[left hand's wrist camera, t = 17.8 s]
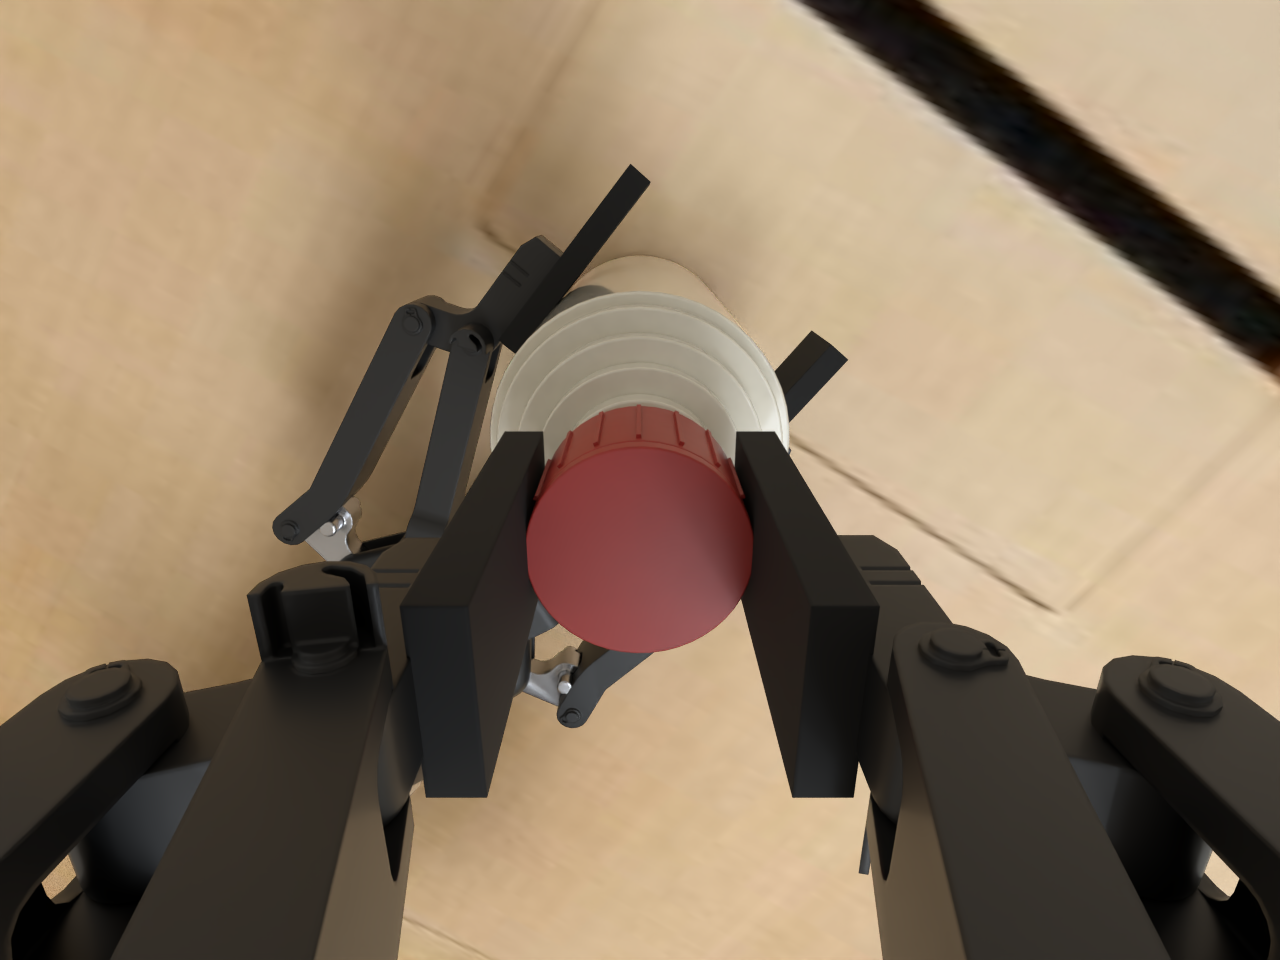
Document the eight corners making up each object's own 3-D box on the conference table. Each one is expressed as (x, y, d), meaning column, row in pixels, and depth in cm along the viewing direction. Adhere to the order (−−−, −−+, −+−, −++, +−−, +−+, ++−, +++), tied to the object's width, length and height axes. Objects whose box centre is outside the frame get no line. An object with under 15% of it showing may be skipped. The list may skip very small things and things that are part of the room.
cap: (733, 392, 13) (753, 431, 11) (743, 576, 15) (763, 646, 12) (527, 412, 14) (503, 455, 11) (556, 593, 15) (541, 665, 13)
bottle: (724, 431, 31) (832, 715, 14) (556, 432, 31) (449, 717, 14) (731, 254, 28) (876, 328, 11) (547, 255, 28) (401, 330, 11)
